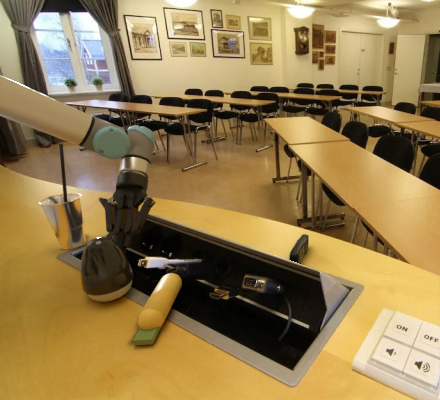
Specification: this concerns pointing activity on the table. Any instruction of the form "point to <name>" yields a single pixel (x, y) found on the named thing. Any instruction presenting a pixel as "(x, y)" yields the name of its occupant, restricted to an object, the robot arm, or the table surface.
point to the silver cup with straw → (65, 214)
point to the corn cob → (157, 309)
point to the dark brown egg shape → (105, 270)
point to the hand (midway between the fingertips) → (118, 260)
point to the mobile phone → (299, 249)
